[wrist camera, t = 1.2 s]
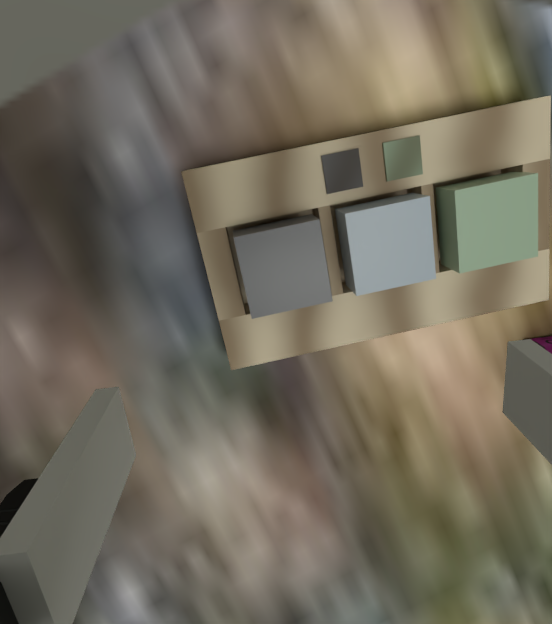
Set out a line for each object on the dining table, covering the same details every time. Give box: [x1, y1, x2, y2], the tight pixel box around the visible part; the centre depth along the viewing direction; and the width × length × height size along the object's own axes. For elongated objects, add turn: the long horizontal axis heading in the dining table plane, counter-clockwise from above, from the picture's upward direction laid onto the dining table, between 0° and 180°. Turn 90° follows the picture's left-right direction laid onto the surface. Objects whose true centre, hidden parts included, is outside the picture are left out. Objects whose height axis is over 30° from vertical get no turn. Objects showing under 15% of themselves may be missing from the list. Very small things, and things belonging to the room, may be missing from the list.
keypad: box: [181, 96, 551, 370], centre depth 33 cm, size 24×14×3 cm, turn 100°
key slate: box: [335, 193, 436, 296], centre depth 31 cm, size 5×5×3 cm
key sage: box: [435, 172, 538, 274], centre depth 31 cm, size 5×5×3 cm
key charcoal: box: [233, 214, 333, 319], centre depth 30 cm, size 5×5×3 cm
